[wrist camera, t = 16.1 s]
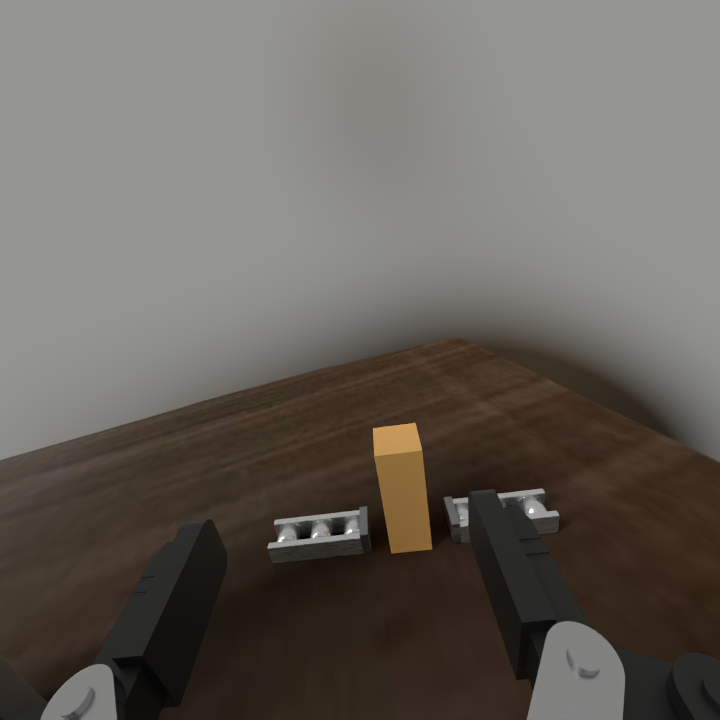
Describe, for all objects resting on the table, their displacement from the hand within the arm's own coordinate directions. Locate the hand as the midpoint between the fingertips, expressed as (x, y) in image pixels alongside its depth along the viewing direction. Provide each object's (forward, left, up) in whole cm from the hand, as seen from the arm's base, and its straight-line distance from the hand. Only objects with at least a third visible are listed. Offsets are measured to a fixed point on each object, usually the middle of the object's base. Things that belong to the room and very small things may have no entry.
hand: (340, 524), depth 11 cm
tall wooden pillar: (+2, +18, -22) cm, 29 cm away
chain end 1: (-7, +18, -22) cm, 29 cm away
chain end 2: (+11, +18, -22) cm, 31 cm away
